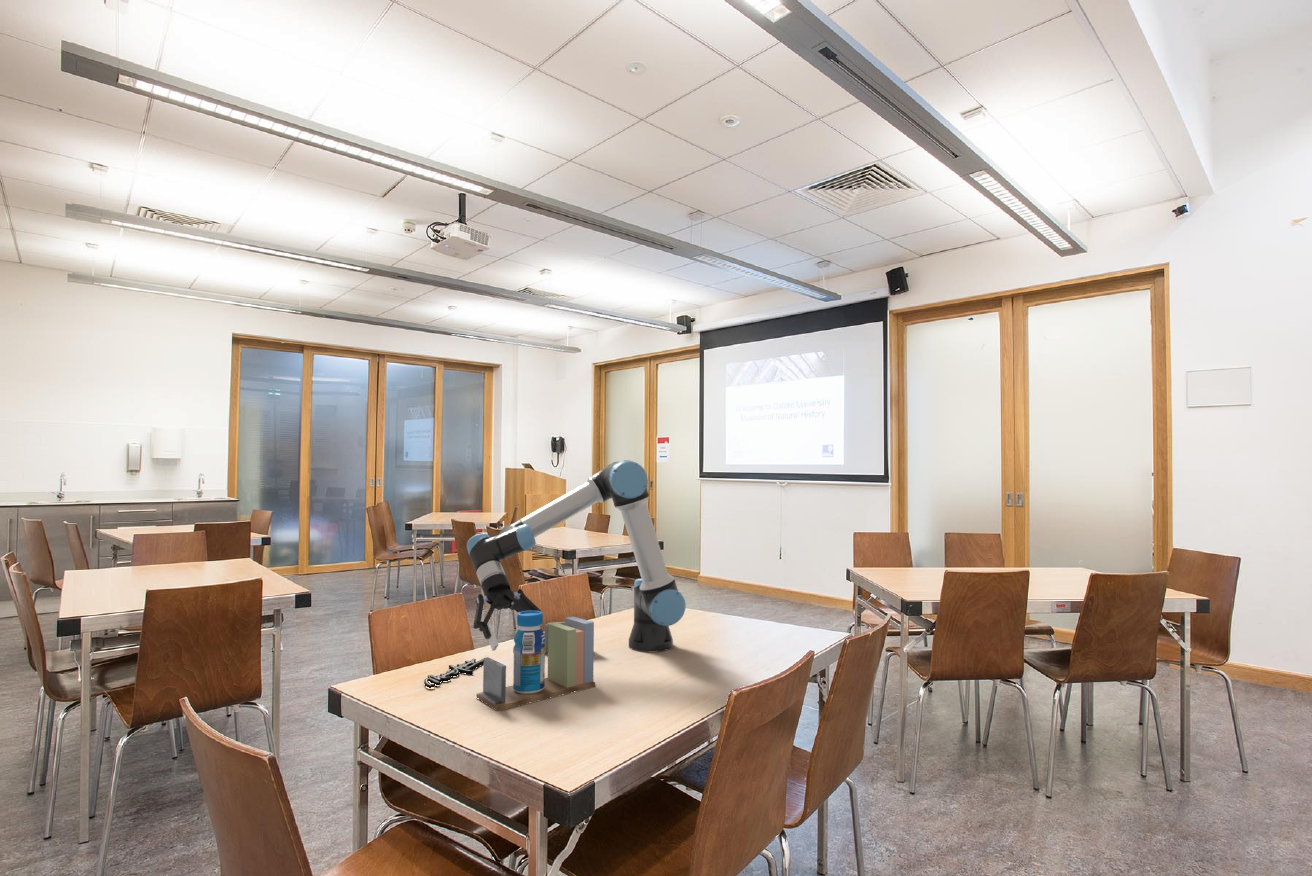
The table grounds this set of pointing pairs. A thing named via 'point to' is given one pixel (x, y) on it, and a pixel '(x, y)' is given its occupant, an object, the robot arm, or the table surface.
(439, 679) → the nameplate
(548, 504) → the robot arm
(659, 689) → the table surface
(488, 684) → the bookend
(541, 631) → the beverage bottle
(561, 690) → the shelf board
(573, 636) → the book row
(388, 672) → the table surface
